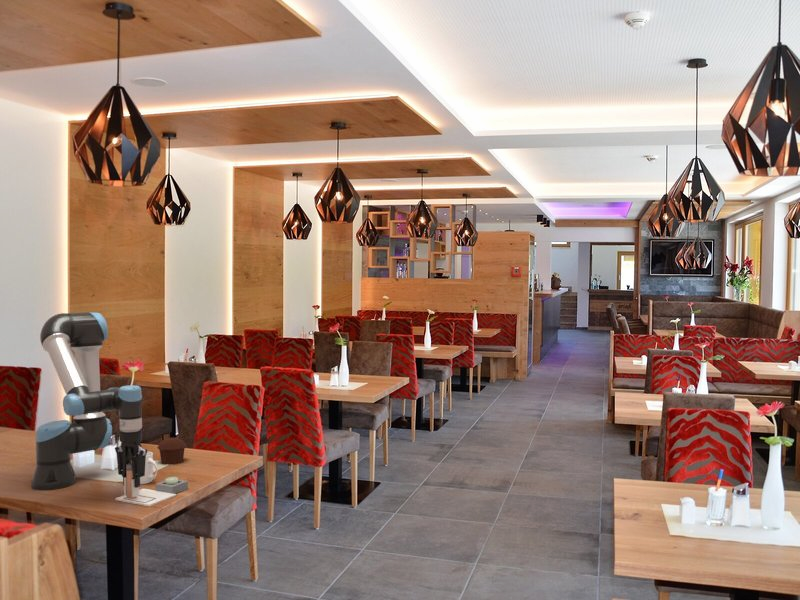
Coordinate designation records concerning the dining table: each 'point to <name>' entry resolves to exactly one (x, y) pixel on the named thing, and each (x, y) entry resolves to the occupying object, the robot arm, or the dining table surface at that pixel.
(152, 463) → the mug
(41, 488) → the robot arm
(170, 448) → the muffin
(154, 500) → the sheet
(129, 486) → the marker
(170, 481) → the button
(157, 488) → the button housing
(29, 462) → the dining table surface
